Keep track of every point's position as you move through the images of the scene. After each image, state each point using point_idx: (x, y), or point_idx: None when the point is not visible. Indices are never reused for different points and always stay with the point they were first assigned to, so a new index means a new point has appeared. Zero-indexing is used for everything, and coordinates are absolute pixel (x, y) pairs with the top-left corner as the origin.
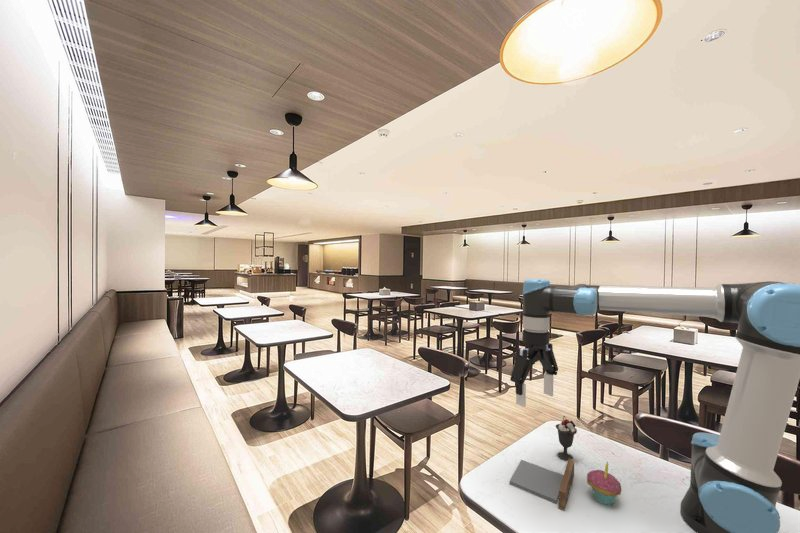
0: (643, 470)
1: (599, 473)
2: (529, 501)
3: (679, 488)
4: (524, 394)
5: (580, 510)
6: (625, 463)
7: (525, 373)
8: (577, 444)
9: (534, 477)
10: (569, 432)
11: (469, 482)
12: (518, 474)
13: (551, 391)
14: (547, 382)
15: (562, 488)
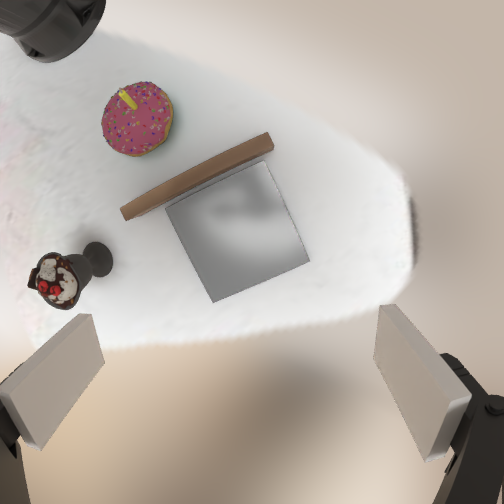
0: (11, 153)
1: (132, 123)
2: (314, 197)
3: (14, 97)
4: (427, 345)
5: (232, 122)
6: (17, 182)
7: (501, 483)
8: None
9: (241, 239)
10: (65, 262)
11: None
12: (269, 267)
13: (76, 330)
14: (59, 386)
15: (258, 145)
